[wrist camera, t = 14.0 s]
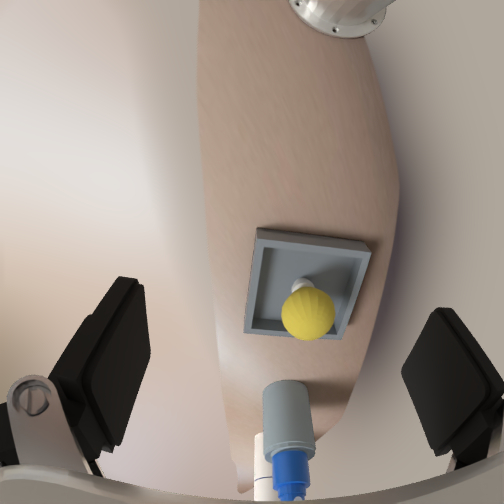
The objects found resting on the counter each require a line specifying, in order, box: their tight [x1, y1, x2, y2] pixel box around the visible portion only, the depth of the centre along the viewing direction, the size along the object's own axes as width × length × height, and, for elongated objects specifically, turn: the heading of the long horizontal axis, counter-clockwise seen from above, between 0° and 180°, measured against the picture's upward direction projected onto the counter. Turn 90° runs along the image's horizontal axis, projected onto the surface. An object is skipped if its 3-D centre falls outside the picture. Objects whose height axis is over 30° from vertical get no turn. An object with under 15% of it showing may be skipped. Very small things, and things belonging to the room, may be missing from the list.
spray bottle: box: [263, 380, 316, 501], centre depth 44 cm, size 9×9×25 cm
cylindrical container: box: [254, 432, 280, 501], centre depth 52 cm, size 7×7×25 cm
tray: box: [244, 228, 371, 340], centre depth 42 cm, size 15×15×4 cm
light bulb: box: [281, 278, 335, 340], centre depth 38 cm, size 7×7×10 cm
